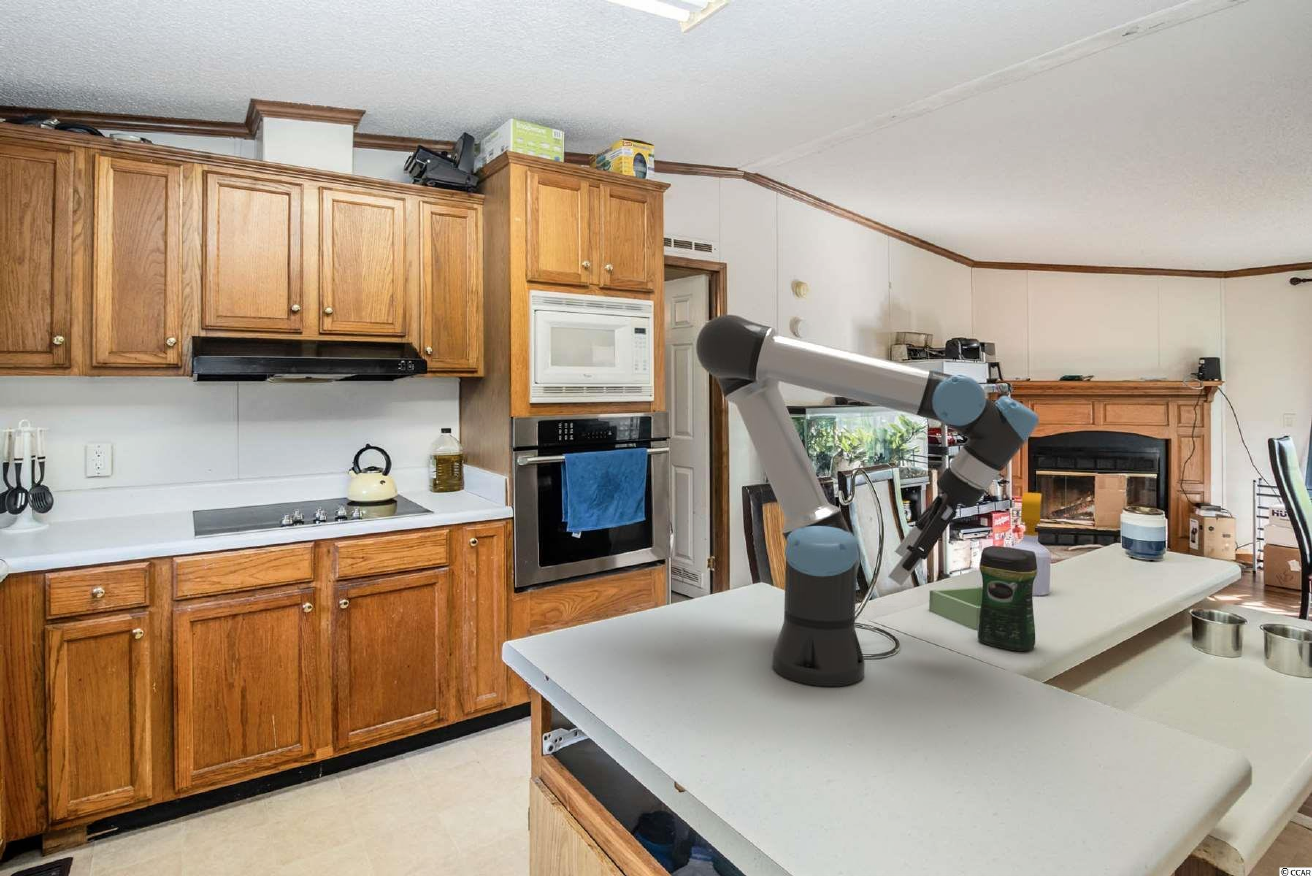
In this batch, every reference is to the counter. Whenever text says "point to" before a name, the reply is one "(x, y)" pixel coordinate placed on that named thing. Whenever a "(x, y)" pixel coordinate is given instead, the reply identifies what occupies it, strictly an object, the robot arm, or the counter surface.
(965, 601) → the green tray
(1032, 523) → the soap bottle
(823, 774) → the counter surface
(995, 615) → the coffee jar
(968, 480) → the robot arm
